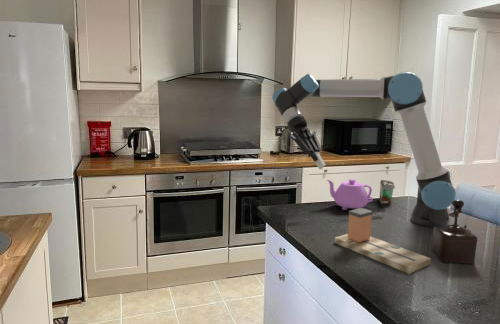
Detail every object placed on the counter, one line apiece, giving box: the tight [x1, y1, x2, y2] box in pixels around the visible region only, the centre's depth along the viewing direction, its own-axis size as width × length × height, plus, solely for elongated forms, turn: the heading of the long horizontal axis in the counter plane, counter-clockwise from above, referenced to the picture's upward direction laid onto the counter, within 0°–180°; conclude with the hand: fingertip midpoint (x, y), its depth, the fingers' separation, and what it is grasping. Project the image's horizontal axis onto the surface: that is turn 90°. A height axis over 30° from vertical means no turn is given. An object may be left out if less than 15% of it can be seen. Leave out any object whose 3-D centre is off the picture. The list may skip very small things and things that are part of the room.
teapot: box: [326, 178, 374, 211], centre depth 189 cm, size 22×16×14 cm
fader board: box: [334, 233, 432, 275], centre depth 138 cm, size 30×12×2 cm, turn 37°
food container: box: [379, 179, 396, 206], centre depth 200 cm, size 12×6×10 cm, turn 168°
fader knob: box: [347, 207, 373, 242], centre depth 144 cm, size 5×7×10 cm
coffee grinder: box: [431, 199, 478, 265], centre depth 137 cm, size 16×11×18 cm
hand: (322, 167), depth 156 cm, fingers closed
